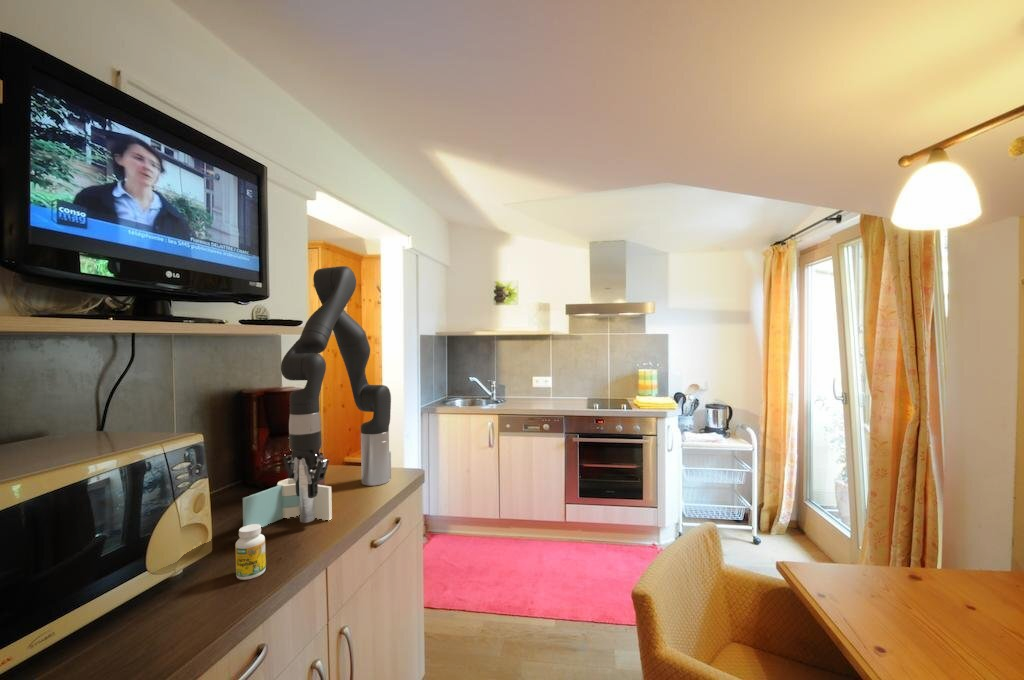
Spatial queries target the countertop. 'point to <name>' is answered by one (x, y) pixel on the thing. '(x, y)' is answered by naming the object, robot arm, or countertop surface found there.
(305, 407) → the robot arm
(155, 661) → the countertop surface
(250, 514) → the leaf
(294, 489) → the white hinge leaf
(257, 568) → the supplement bottle
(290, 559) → the countertop surface
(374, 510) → the countertop surface
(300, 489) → the hinge pin
